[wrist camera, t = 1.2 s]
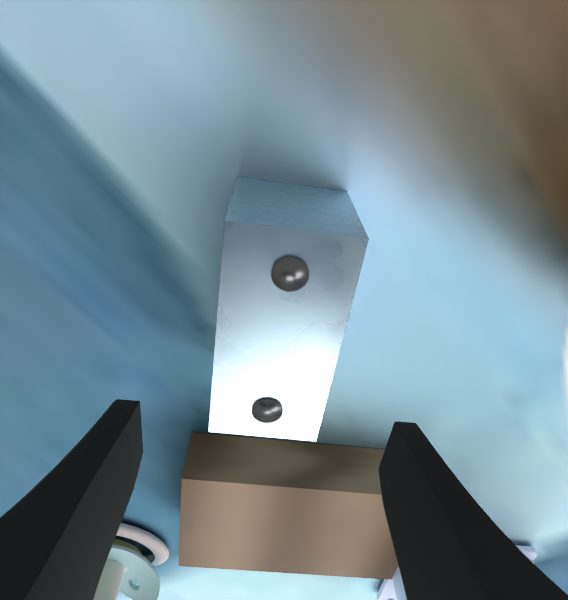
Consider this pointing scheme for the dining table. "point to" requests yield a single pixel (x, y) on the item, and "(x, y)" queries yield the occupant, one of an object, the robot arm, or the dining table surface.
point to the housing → (282, 306)
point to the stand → (284, 508)
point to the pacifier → (132, 566)
